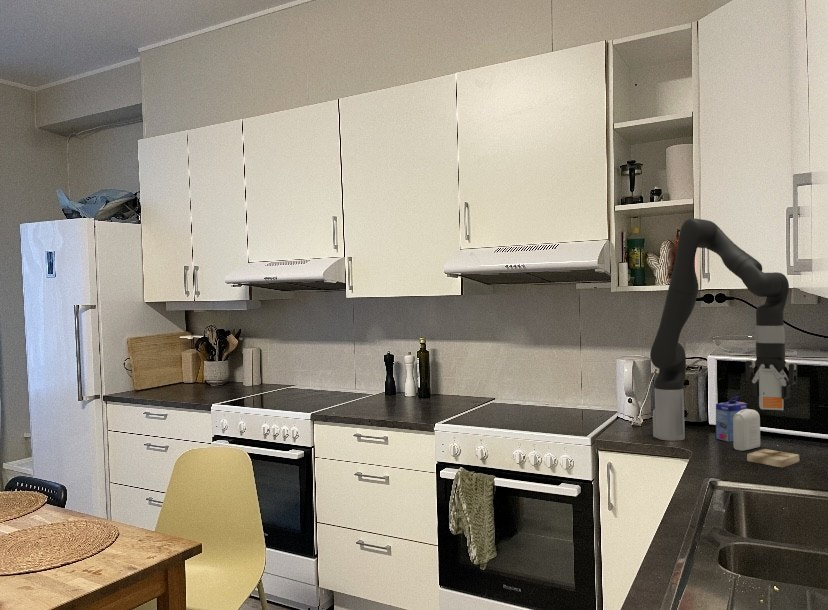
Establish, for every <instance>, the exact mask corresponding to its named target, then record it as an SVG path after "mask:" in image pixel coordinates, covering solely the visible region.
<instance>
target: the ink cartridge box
mask: <svg viewBox="0 0 828 610" xmlns="http://www.w3.org/2000/svg"><path fill="white" fill-rule="evenodd" d="M739 398H740V396H737V395H736V396H732V397H731V398H730V399H729V401H726V402H719V403H716V404H715V439H716V440H720V441H724V442H729V443H730V442H733V417H734V415H735V414H736V413H737V412H739V411H741V410H744V409H748V403H746V402H743V401H738V399H739Z"/></svg>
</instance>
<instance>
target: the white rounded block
mask: <svg viewBox="0 0 828 610" xmlns="http://www.w3.org/2000/svg"><path fill="white" fill-rule="evenodd" d="M732 442H733V449H734V450H736V451H741V452H742V451H743V452H744V451H748V450H752V449H756V448H757V449H758V448H760V447H761V417H760V413H759V412H758V411H757V410H755V409H750V408H747V409H744V410H741V411H739V412H737V413H736V414H735V415H734V417H733V441H732Z"/></svg>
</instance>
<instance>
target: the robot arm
mask: <svg viewBox="0 0 828 610" xmlns="http://www.w3.org/2000/svg"><path fill="white" fill-rule="evenodd" d="M677 239H678V240H677V246H676V247H677V248H676V254H675V260H674V265H673V270H672V273H671V274H672V275H671V279H670V283H669V285H668V289H667V293H666V297H665V302H664V306H663V310H662V314H661V318H660V323H659V327H658V330H657V332H656V335H655V338H654V341H653V343H652V346H651V349H650V355H649V356H650V361H651V364H652V365H653V366H654V367H655V368H657V369H658V374H657V377H656V378H655V380H654V409H652V434H653V435H652V436H653V438H656V439H657V440H662V441H669V442H670V441H672V442H674V441H684V440H685V435H686V434H685V433H686V432H685V398H684V395H685V394H684V393H685V392H684V383H685V380H686V376H687V375H686V373H687V372H686V371H687V370H686V368H687V366H686V365H687V363H686V362H687V361H686V359H687V356H686V350H685V348H684V347H683V345H682V344H681V343H679V339H680V336H681V333H682V330H683V328H684V327H685V324H686V323H687V321H688V319H690V316H691V315H692V313H693V311H694V308H695V305H696V303H697V298H698V294H699V287H700V286H699V280H698V277H697V273H696V268H695V259H696V254H697V250H698V249H706V250H709V251H711V252H713V253H715V254H717V256H719V257H720V258H721V261H722V263H723V265H724V266H725V267H726V269H728V270H729V271H730V273H731V272H732V273H733V274H734V275H735V276H736V277H738V278H739V279H740V280H741V282H742V283H743V284H744V286H745V287H746V289H747V290H748V291H749V292H750V293H751V294H753V295H755V296H757V297H760V298H765V297H766V298H765V302H764V304H762V305H759V306H757V308H756V309H755V322H756V323H755V324H756V326H755V327H756V328H755V357H756V359H755V360H752V359H749V360H745V361H744V362H745V363H744V364H745V366H744V367H745V380H746V381H748V382H751V383H752V393H753V394H754V396H755V397H759V376H760V368H770V369H771V370H772V371H773V373H774V374H775V376H776V377H777V379H778V380H780V382H781V384H782V385H783V386H781V387H782V399H784V400H788V399H789V398H790V395H791V393H790V392H791V391H790V389H791V388H790V387H791V385H796V384H797V383H798V364H797V363H796V362H792V363H790V362H786V337H785V336H786V334H785V325H784V322H785V321H784V309H785V306H786V304H787V299H788V296H789V290H790V285H789V284H790V283H789V280H788V277H786V275H785V274H784V273H781V272H775V271H774V272H764V271H763V265H762V263H761V262H760V261H758V259H756V258H754V257H753V256H752V255H750V254H749V253H747V252H746V251H744V249H742V248H740V247H739V246H738V245H737V244H735V242H733V241H732V240H731V238H729V237H728V236H727V235H726V234H725V232H724V231H723V230H722V229H721V228H720V227H719V226H718V225H717V224H716V223H715V222H714V221H712V220H708V219H701V218H693V217H691V218H688V219H686V220H685V221H684V222H683V223H682V225H681V227H680V231H679V234H678V238H677ZM755 367H757V370H756V372H755ZM782 369H783V375H781V374H780V372H781V371H782ZM785 369H786V370H787V371H788V375H787V373H786V372H785Z"/></svg>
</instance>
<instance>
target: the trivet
mask: <svg viewBox="0 0 828 610" xmlns="http://www.w3.org/2000/svg"><path fill="white" fill-rule="evenodd" d="M746 461H747V462H749V463H750V462H752V463H757V464H761V465H762V464H763V465H767V466H772V467H778V468H786V467H788V466H791V465H794V464H797V463H800V454H797V453H792V452H785V451H781V450H773V449H768V448H763V449H759V450H755V451H753V452H749V453H747V455H746Z"/></svg>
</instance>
